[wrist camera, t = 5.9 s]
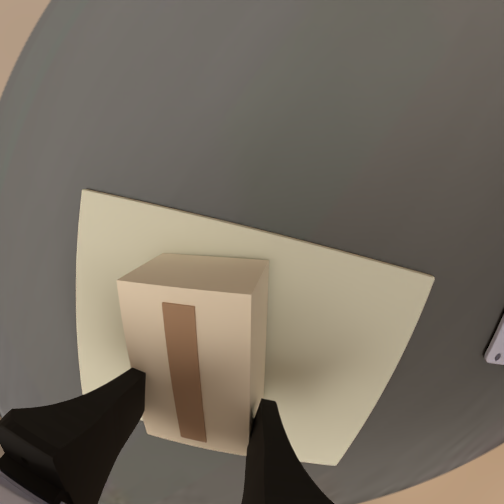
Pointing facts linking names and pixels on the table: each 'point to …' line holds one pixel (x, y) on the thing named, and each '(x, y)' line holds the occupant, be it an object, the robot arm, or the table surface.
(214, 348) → the card deck box
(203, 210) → the table surface
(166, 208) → the mat
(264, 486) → the robot arm
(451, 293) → the table surface
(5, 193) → the table surface
